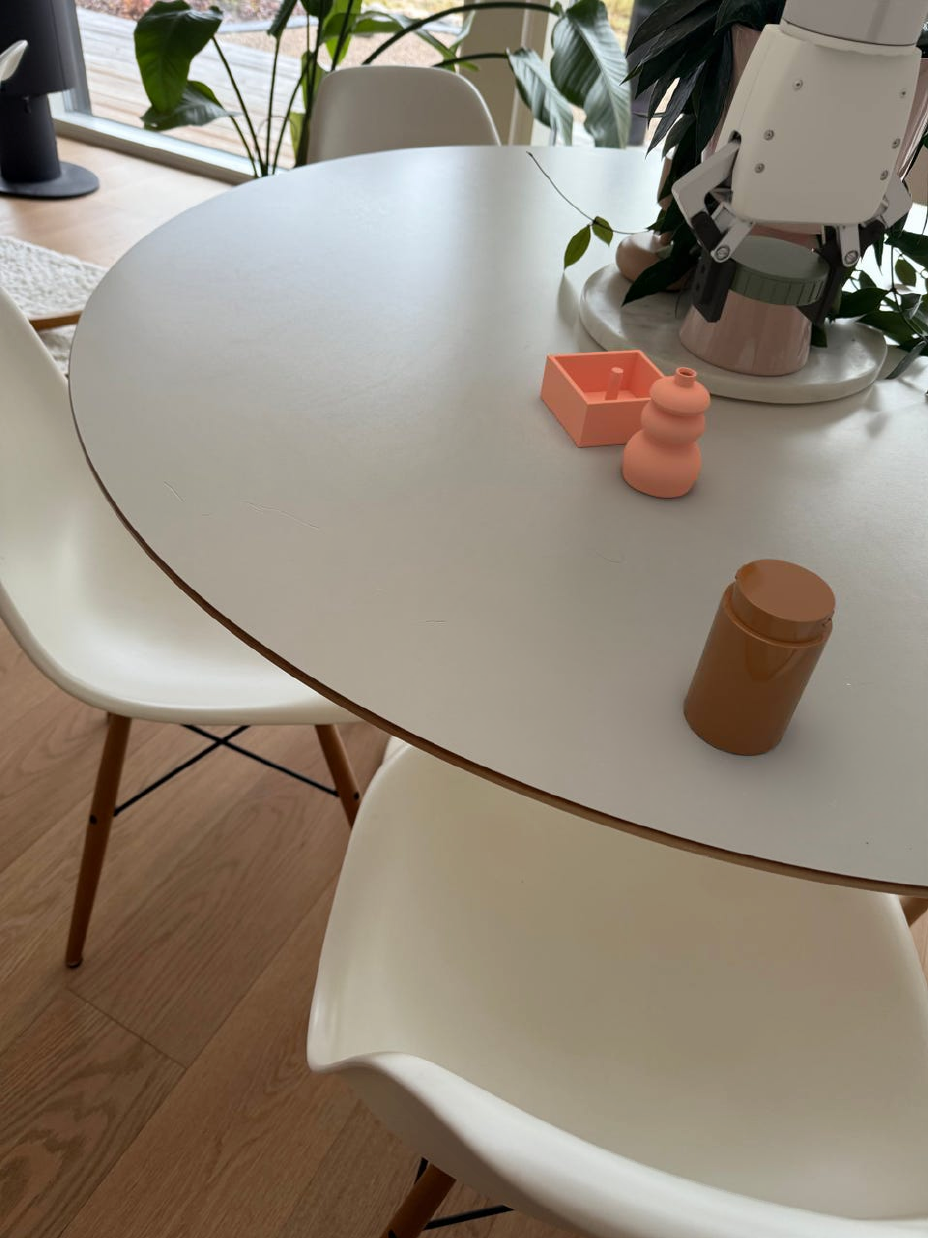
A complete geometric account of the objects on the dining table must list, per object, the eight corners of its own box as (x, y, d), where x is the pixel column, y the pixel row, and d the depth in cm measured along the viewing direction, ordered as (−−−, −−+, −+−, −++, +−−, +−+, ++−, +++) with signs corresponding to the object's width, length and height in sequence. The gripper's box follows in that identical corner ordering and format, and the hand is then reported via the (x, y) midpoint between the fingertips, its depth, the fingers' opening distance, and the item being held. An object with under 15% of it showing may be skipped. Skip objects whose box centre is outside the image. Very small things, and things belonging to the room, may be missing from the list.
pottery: (539, 396, 94) (558, 294, 87) (630, 390, 97) (654, 291, 90) (622, 505, 81) (650, 396, 75) (723, 494, 84) (758, 388, 78)
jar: (792, 706, 65) (851, 579, 58) (771, 771, 61) (832, 641, 54) (699, 669, 67) (745, 541, 60) (670, 729, 63) (717, 598, 56)
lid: (692, 272, 66) (699, 245, 64) (753, 254, 70) (761, 228, 68) (782, 315, 62) (792, 286, 61) (841, 293, 66) (851, 266, 65)
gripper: (951, 9, 60) (844, 294, 72) (685, -18, 56) (617, 288, 68) (1028, 39, 55) (899, 342, 67) (739, 11, 51) (655, 339, 63)
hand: (757, 312), depth 67 cm, fingers closed on lid, 7 cm apart
